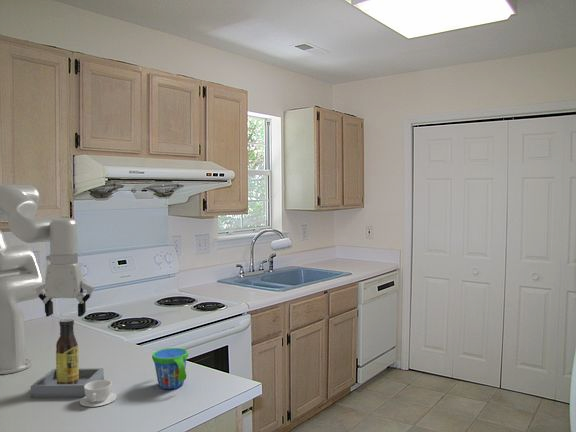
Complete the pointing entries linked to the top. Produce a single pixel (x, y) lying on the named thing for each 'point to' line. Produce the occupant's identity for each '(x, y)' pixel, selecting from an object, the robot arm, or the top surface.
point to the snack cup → (170, 367)
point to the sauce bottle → (67, 354)
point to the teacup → (98, 393)
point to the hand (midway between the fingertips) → (65, 315)
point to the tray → (51, 389)
